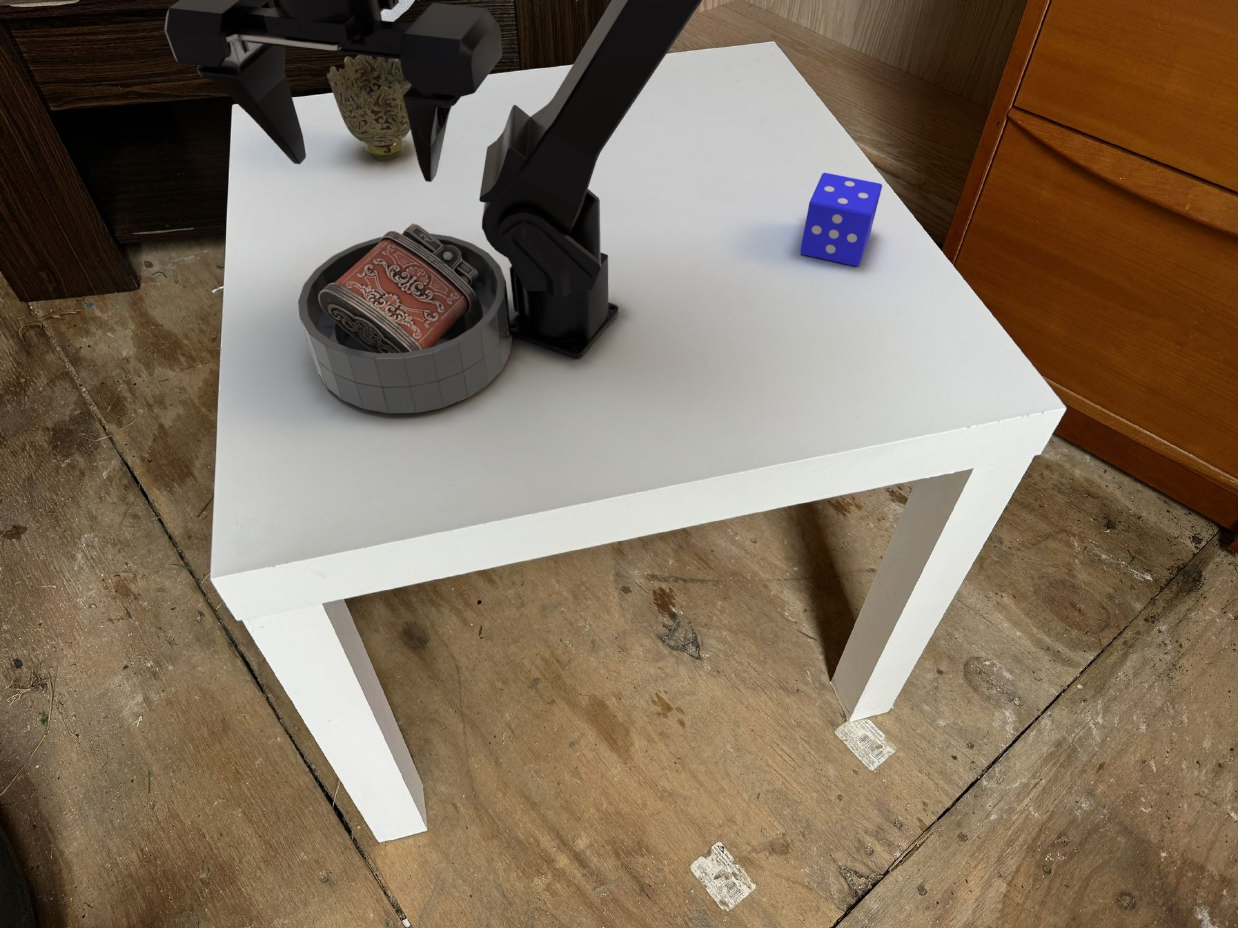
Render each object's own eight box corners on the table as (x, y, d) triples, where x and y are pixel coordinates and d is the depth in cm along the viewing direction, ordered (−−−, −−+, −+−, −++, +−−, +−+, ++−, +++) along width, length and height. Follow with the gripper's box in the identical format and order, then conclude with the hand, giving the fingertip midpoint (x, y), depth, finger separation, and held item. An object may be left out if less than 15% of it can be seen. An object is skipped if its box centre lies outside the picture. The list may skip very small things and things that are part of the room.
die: (858, 267, 73) (871, 214, 69) (799, 254, 74) (809, 201, 70) (869, 235, 76) (883, 183, 72) (812, 223, 77) (822, 171, 73)
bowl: (547, 326, 68) (543, 266, 63) (437, 445, 59) (424, 385, 55) (398, 273, 72) (385, 214, 68) (276, 377, 64) (253, 317, 59)
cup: (390, 181, 81) (373, 96, 75) (330, 159, 84) (309, 76, 78) (440, 145, 86) (428, 63, 80) (382, 126, 88) (365, 45, 82)
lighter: (410, 380, 61) (487, 297, 67) (421, 354, 59) (500, 271, 64) (315, 309, 61) (400, 232, 67) (321, 280, 58) (410, 202, 64)
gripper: (519, -133, 50) (536, 128, 62) (221, -156, 53) (291, 98, 64) (451, -68, 43) (485, 214, 55) (109, -99, 46) (211, 176, 57)
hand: (365, 169), depth 58 cm, fingers open, 9 cm apart
